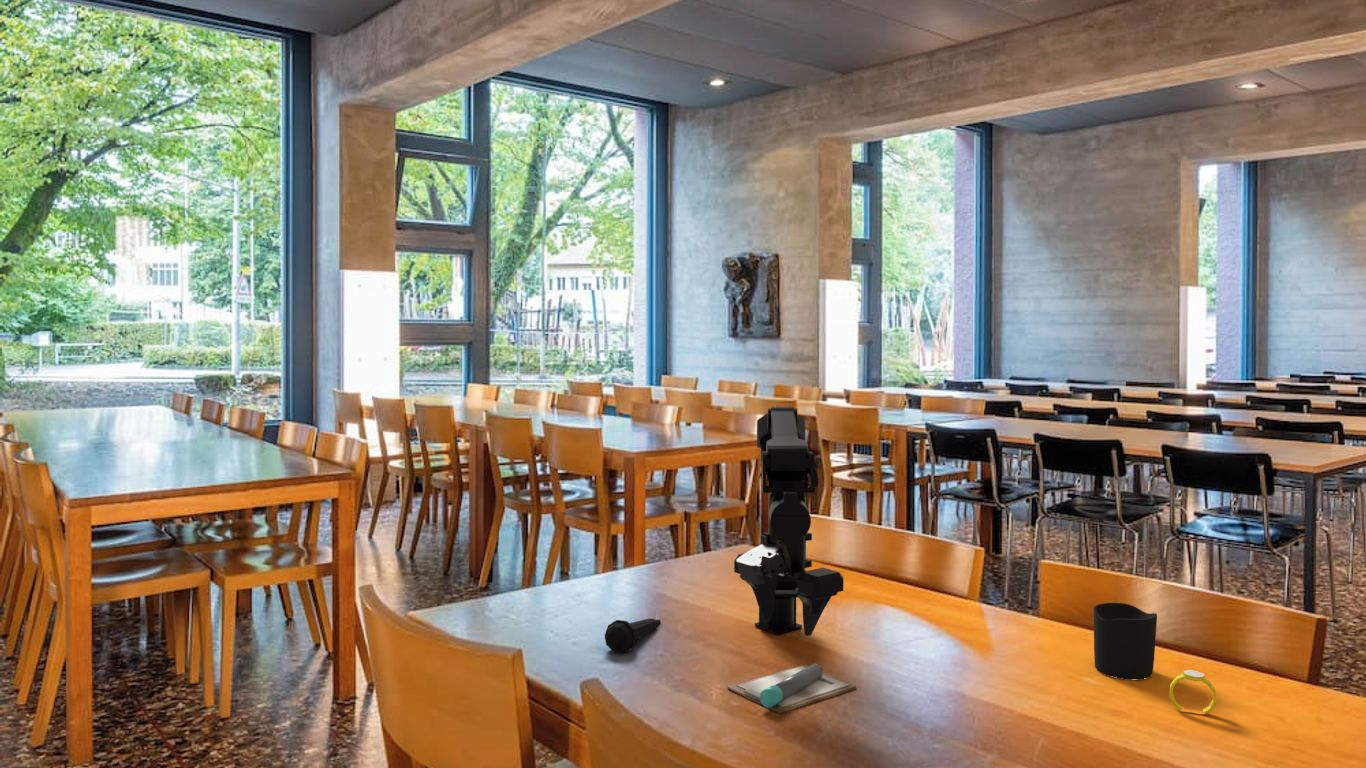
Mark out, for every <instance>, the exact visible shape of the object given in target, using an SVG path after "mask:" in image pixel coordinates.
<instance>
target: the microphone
mask: <svg viewBox="0 0 1366 768" xmlns="http://www.w3.org/2000/svg"><path fill="white" fill-rule="evenodd" d="M660 623H661V619H655V618H650V617H649V618H645V619H642V620H638V621H633V622H628V621H627V620H621V619H615V620H614V621H612V622H611V623H610V624H609V625H607V627H606V630H605V634H604V641H605V646H607V647H608V648H609V649H610V650H611V651H612V652H615V653H623V654H625V653H627V652H629V651H630V650H632V649H633V648H634V646H635V644H636V643H637V642H639V641H640V640H641V638H642V637H644V636H646V635H647V634H649V633H651V632H652V631H654V630H656V629H657V626H658V625H659V624H660Z"/></svg>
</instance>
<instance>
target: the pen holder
mask: <svg viewBox="0 0 1366 768" xmlns="http://www.w3.org/2000/svg"><path fill="white" fill-rule="evenodd" d="M1092 610H1093V650H1094V652H1093V655H1094V656H1093V657H1094V659H1093V660H1094V667H1095V669H1096V670H1097V672H1099V671H1100V672H1102V673H1104V674H1106V675H1105V676H1107V675H1109V676H1108V677H1110V676H1113V677H1117V678H1116V679H1118V678H1123V679H1122V680H1124V679H1143V680H1145V679H1144V678H1147V677H1149V678H1151V676H1153V674H1154V662H1155V652H1156V638H1157V624H1158V614H1157V613H1156V612H1155V613H1154V612H1152V613H1147V612H1145V611H1143V610H1142V609H1139V608H1138V607H1136V606H1135V605H1132V604H1130V603H1124V602H1103V603H1100V604H1096V605H1094V606H1093V609H1092ZM1100 672H1099V673H1100ZM1102 673H1101V674H1102ZM1104 674H1103V675H1104ZM1113 677H1112V678H1113ZM1147 679H1148V678H1147Z"/></svg>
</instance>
